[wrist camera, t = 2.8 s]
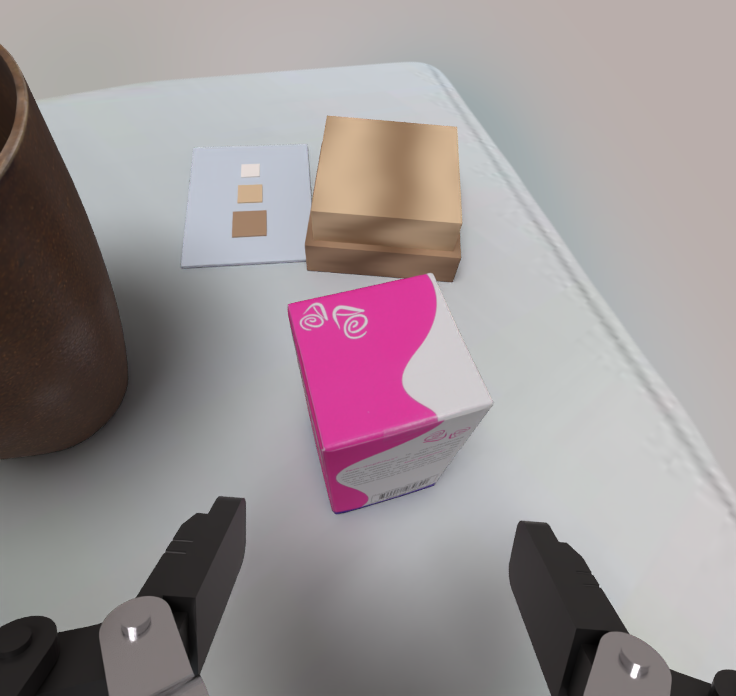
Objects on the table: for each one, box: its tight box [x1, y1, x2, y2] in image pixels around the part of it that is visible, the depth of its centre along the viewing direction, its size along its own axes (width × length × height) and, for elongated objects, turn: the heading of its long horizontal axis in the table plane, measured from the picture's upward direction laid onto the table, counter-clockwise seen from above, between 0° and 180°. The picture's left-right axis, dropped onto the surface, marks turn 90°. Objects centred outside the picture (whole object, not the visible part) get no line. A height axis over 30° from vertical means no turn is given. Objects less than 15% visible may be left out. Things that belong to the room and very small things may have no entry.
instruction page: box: [181, 144, 311, 268], centre depth 33 cm, size 9×12×1 cm
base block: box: [305, 116, 462, 282], centre depth 31 cm, size 10×10×5 cm
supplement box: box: [288, 273, 494, 514], centre depth 20 cm, size 6×6×12 cm
